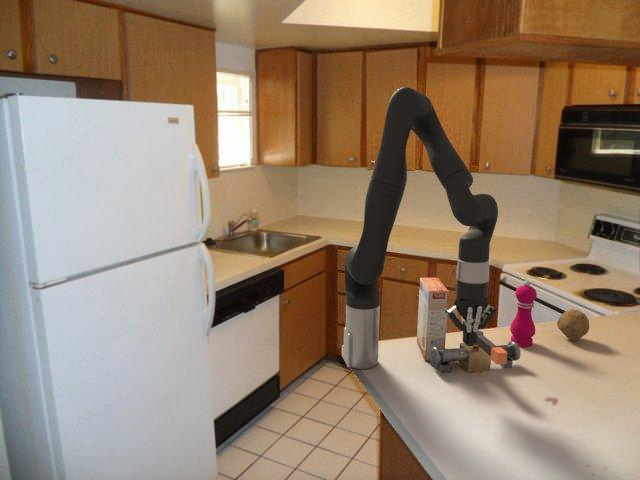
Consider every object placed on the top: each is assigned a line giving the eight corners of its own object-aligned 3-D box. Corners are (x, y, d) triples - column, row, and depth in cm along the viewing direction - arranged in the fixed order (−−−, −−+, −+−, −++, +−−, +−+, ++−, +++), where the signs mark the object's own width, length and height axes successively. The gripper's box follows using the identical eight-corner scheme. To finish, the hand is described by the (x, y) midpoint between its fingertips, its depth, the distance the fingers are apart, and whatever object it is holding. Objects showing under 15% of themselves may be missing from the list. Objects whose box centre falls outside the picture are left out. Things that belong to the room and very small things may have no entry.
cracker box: (445, 361, 144) (449, 291, 140) (424, 361, 144) (427, 290, 140) (435, 341, 158) (439, 276, 153) (416, 341, 158) (419, 276, 153)
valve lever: (466, 339, 141) (467, 329, 140) (478, 338, 141) (479, 328, 140) (494, 364, 125) (495, 353, 125) (508, 363, 126) (509, 352, 125)
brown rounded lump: (549, 338, 160) (553, 308, 158) (564, 331, 166) (567, 302, 164) (578, 348, 153) (582, 316, 151) (592, 340, 159) (596, 310, 157)
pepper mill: (508, 345, 155) (513, 282, 151) (509, 337, 161) (514, 276, 157) (533, 349, 152) (540, 285, 148) (534, 340, 159) (540, 279, 155)
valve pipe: (437, 375, 136) (438, 349, 134) (428, 365, 142) (430, 340, 140) (519, 368, 140) (522, 343, 138) (508, 359, 146) (510, 335, 144)
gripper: (453, 284, 117) (450, 353, 121) (506, 280, 120) (501, 348, 123) (440, 275, 124) (437, 341, 128) (489, 271, 127) (486, 336, 130)
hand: (469, 344), depth 126 cm, fingers closed
